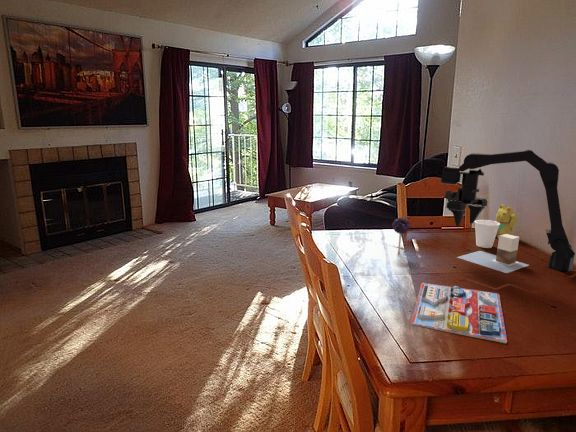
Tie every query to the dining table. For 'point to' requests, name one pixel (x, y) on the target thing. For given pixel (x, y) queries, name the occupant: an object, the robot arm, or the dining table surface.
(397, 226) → the lollipop
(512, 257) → the walnut block
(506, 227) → the figurine
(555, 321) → the dining table surface
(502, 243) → the cream block
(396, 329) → the dining table surface
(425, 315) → the puzzle board
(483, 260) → the mat
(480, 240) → the cup
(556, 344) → the dining table surface
